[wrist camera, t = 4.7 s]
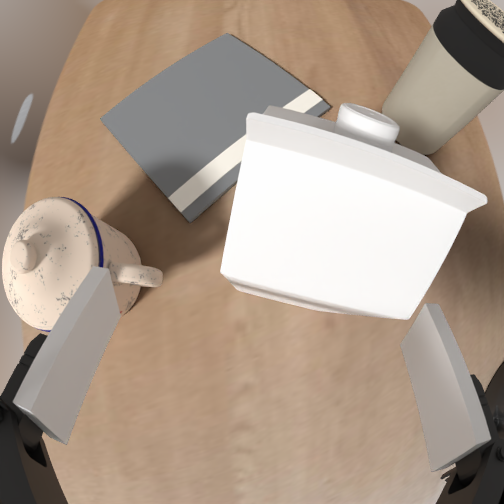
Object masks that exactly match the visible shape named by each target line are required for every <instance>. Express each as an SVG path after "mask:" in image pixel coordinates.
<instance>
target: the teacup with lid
mask: <svg viewBox="0 0 504 504" xmlns="http://www.w3.org/2000/svg"><path fill="white" fill-rule="evenodd" d="M93 266H96V267H102V268H108V269H109V271H110V276H111V280H112V284H113V288H114V292H115V296H116V300H117V303H118V307H119V311H120V314H121V316H123V315H124V314H125V313H126V312H127V311H128V310H129V309H130V308H131V307H132V305H133V304H134V302H135V301H136V299H137V297H138V294H139V291H140V288H141V286H147V287H159V286H160V285H161V284H162V280H163V273H162V272H161V271H160V270H159V269H157V268H153V267H148V266H142V265H141V260H140V257H139V254H138V251H137V249H136V247H135V246H134V244H133V243H132V242H131V240H130V239H129V238H128V237H127V236H126V235H124V234H123V233H121V232H120V231H118V230H116V229H115V228H113V227H111V226H110V225H108V224H106V223H104V222H103V221H101V220H99V219H98V218H96V217H94V216H93V215H91V214H90V213H89V212H88V210H87V209H86V208H85V207H84V206H82V205H81V204H80V203H78V202H76V201H74V200H72V199H69V198H65V197H50V198H46V199H43V200H40V201H38V202H36V203H34V204H33V205H31V206H30V207H28V208H27V209H26V210H25V211H24V212H23V213H22V214H21V215H20V216H19V218H18V219H17V220H16V222H15V223H14V225H13V227H12V229H11V231H10V233H9V235H8V238H7V240H6V244H5V248H4V253H3V260H2V276H3V283H4V287H5V291H6V294H7V297H8V299H9V301H10V303H11V305H12V307H13V309H14V310H15V312H16V313H17V314H18V315H19V316H20V317H21V318H22V319H23V320H24V321H25V322H26V323H28V324H29V325H31V326H33V327H35V328H37V329H39V330H42V331H47V332H50V331H51V330H52V328H53V326H54V325H55V323H56V321H57V320H58V318H59V317H60V315H61V313H62V312H63V310H64V309H65V307H66V306H67V304H68V302H69V301H70V299H71V298H72V296H73V295H74V293H75V292H76V290H77V289H78V287H79V286H80V284H81V283H82V282H83V280H84V279H85V277H86V276H87V274H88V273H89V271H90V270H91V269H92V267H93Z"/></svg>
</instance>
